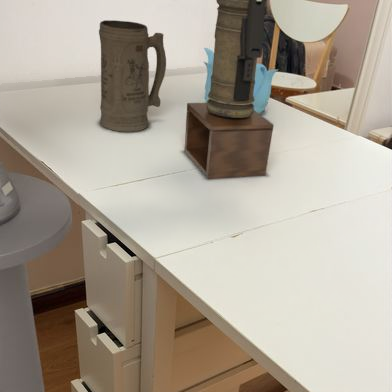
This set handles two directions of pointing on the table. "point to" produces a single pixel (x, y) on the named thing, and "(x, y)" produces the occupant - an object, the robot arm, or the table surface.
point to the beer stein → (128, 74)
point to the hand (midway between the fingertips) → (231, 92)
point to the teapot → (260, 88)
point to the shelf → (227, 143)
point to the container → (229, 62)
